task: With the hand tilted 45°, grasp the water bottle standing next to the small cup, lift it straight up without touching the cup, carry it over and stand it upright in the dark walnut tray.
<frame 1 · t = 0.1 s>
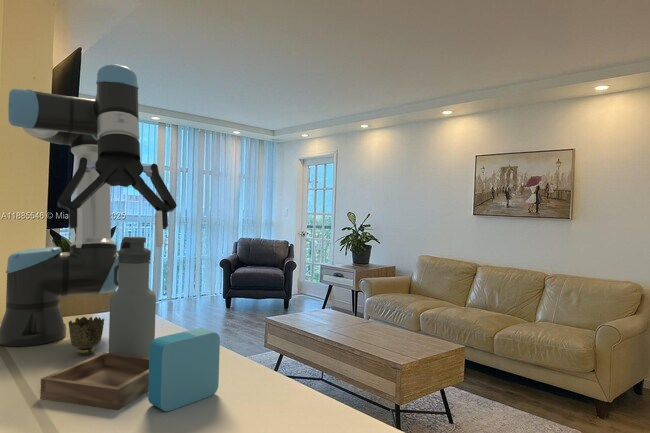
hand: (121, 245, 82), 28 cm above the table, tool tilted 20°, fingers open, 13 cm apart
cup: (85, 354, 105), on the table
water bottle: (131, 358, 104), on the table
data package: (184, 401, 82), on the table
walnut tray: (109, 386, 86), on the table
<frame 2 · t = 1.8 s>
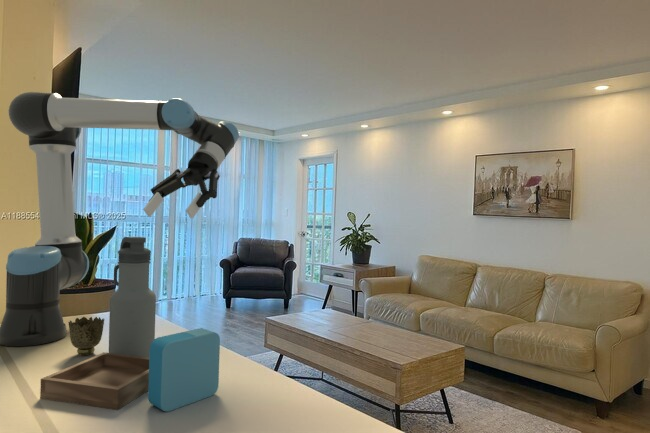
hand: (167, 213, 113), 33 cm above the table, tool tilted 45°, fingers open, 13 cm apart
nothing on the table moved.
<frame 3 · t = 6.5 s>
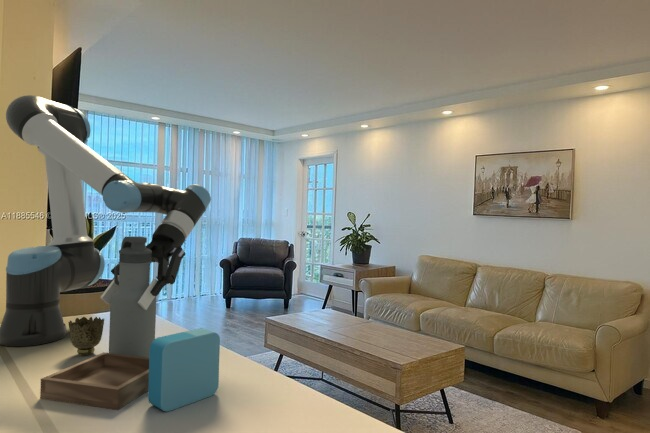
hand: (122, 303, 101), 13 cm above the table, tool tilted 45°, fingers closed on water bottle, 10 cm apart
water bottle: (131, 358, 104), on the table, touching gripper
everything else where it was.
when the fingers open (15 cm above the table, at t = 13.9 s): water bottle drops 1 cm, resting on walnut tray.
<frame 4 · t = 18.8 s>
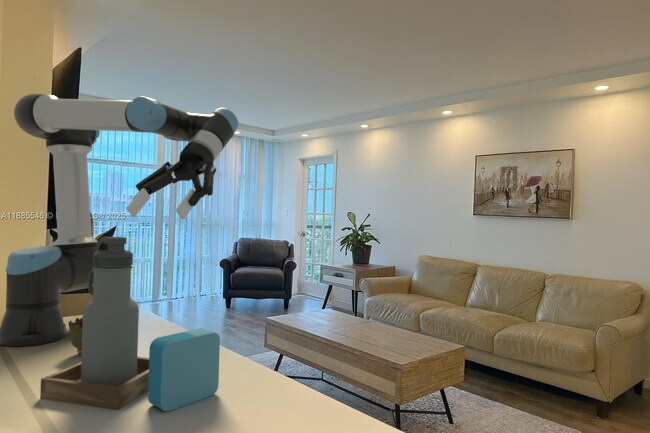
hand: (154, 213, 96), 34 cm above the table, tool tilted 45°, fingers open, 13 cm apart
water bottle: (109, 382, 87), point 1 cm above the table, touching walnut tray
everything else where it was.
at the end: water bottle inside the target area on the walnut tray (0.3 cm from its centre), point 0.8 cm above the walnut tray's base; water bottle tilted 0°; the gripper is holding nothing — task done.
